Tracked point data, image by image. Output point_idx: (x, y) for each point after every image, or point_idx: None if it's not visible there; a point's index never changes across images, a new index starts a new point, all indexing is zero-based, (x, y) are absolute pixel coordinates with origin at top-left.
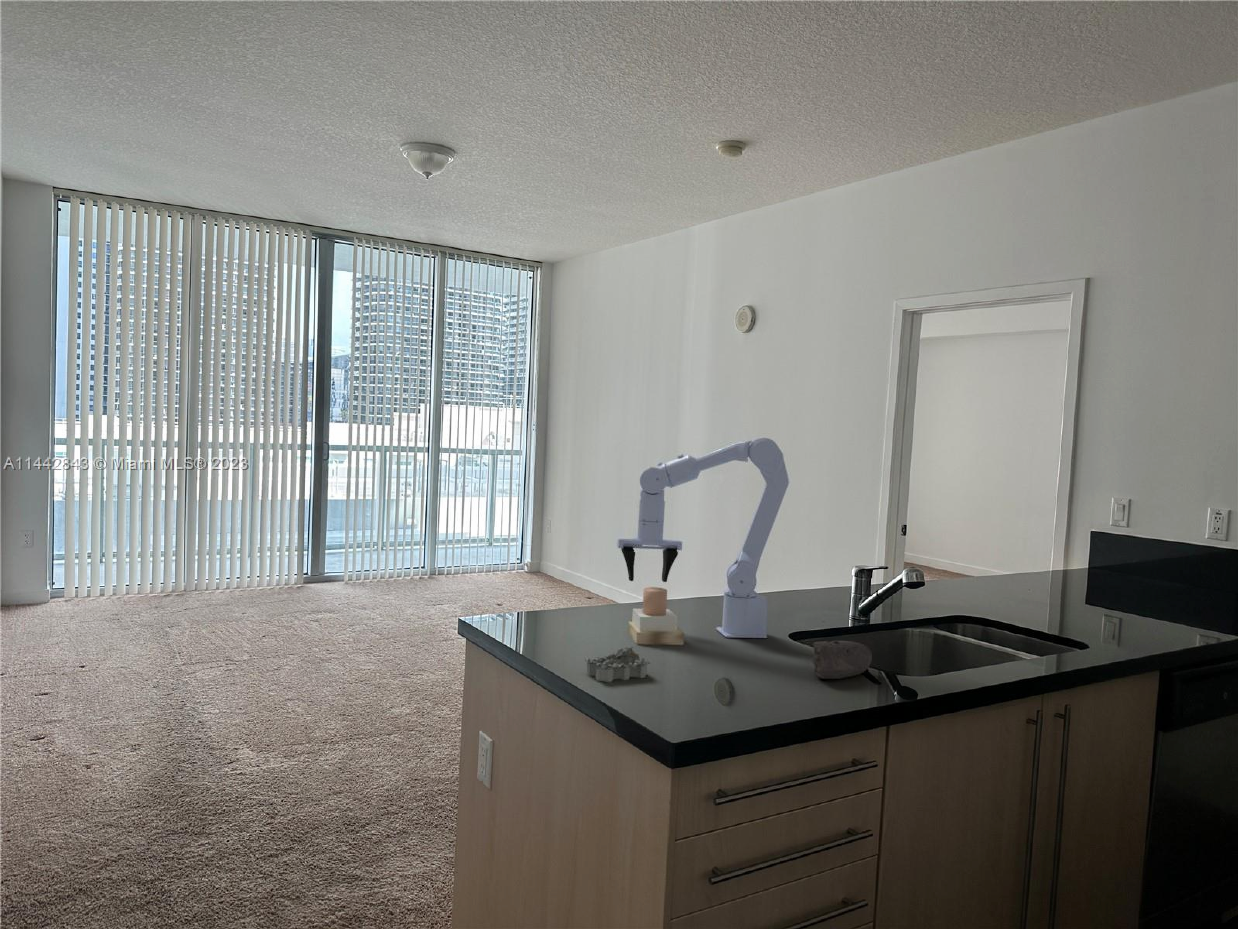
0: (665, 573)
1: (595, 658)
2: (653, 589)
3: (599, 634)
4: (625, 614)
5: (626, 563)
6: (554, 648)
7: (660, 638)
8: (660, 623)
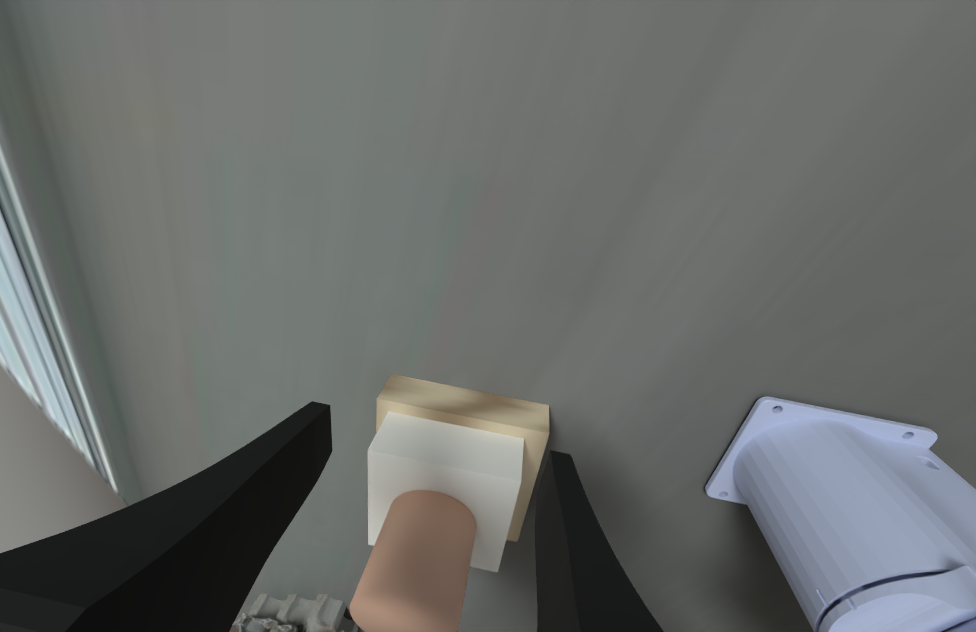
0: (538, 564)
1: (254, 621)
2: (395, 617)
3: (293, 381)
4: (469, 29)
5: (199, 484)
6: (179, 473)
7: None
8: None
